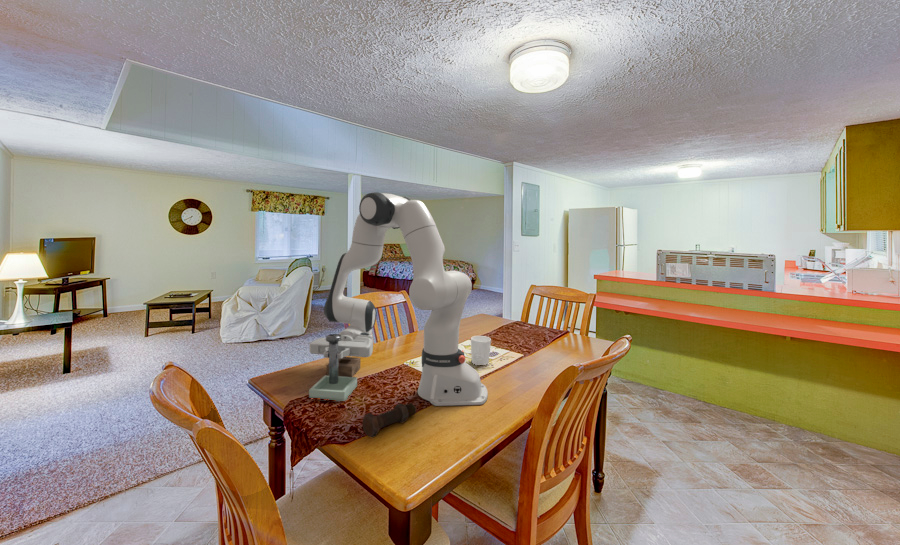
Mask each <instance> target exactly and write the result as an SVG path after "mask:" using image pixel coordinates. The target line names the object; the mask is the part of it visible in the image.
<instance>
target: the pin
mask: <svg viewBox="0 0 900 545" xmlns="http://www.w3.org/2000/svg"><path fill="white" fill-rule="evenodd" d="M325 338H326V341H327V342H329V358H328V364H329V383H330V384H336V383H338V358H337V353H338V341H340V340H341V335H339V333H332V334H331V333H330V334H327V335H326V336H325Z"/></svg>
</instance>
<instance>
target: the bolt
mask: <svg viewBox="0 0 900 545" xmlns="http://www.w3.org/2000/svg"><path fill="white" fill-rule="evenodd" d="M416 413H417V407H416V406H415V405H414V404H413V402H410V403H407V404H404V403H403V404H402V403H398V404H396V405H395V406H394V408H393V409H392V410H389V411H386V412H384V413H383V412H382V413H380V414H378V415H374V414H373V413H372V412H369V413H366V414H365V415H364V416H363V418H362V422H361V423H362V430H363V432H364V434H365V435H366V436H367V437H368V438H375V437H376V436H377V434H378V433H379V430H381V429H382V428H385V427H387V426H390V425H392V424H395V423H400V424H403V423H405V422H406V421H407V420H408V419H409V417H411V416H414V415H415V414H416Z"/></svg>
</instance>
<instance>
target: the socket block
mask: <svg viewBox="0 0 900 545" xmlns="http://www.w3.org/2000/svg"><path fill="white" fill-rule="evenodd" d="M360 369H361V357H353V356H346V357H343V358H342V359H340V358H338V376H344V377H355V375H357V374H356V373H357V372H358V371H359V370H360ZM326 375H328V376H329V363H328V364H326Z"/></svg>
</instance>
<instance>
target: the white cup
mask: <svg viewBox="0 0 900 545" xmlns="http://www.w3.org/2000/svg"><path fill="white" fill-rule="evenodd" d="M491 343H492V339H491V337H489V336H485V335H473V336H471V337H470V352H471V353H470V356H471V363H473V364H472V365H474V364H475V365H474V366H477V365H485V366H487V365H486V364H488V363H489V364H490V354H491V353H490V352H491Z"/></svg>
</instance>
